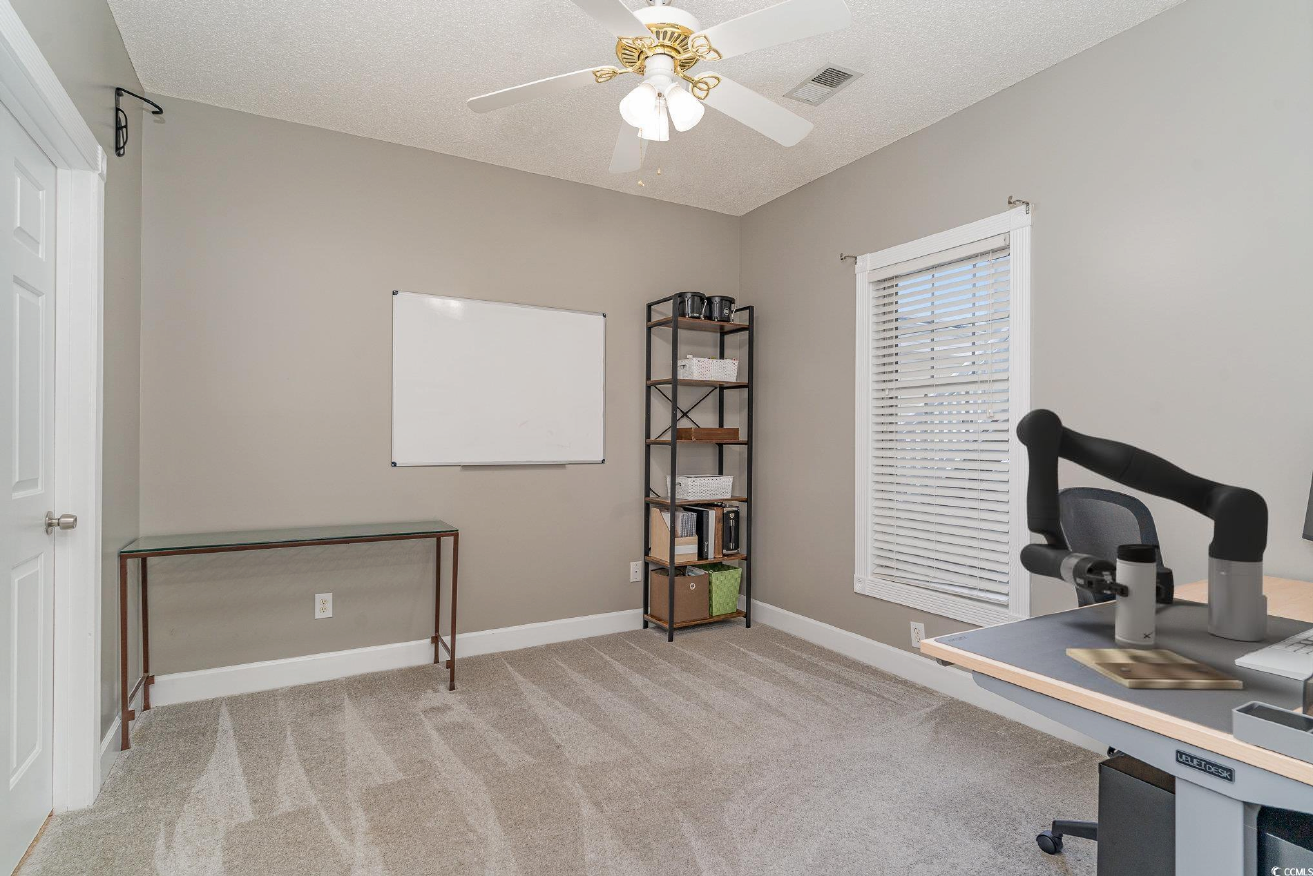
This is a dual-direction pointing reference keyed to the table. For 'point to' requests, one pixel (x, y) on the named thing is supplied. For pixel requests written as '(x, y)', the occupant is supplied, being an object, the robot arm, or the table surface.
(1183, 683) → the plywood panel
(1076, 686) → the table surface
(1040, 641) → the table surface
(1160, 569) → the mallet
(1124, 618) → the travel mug
